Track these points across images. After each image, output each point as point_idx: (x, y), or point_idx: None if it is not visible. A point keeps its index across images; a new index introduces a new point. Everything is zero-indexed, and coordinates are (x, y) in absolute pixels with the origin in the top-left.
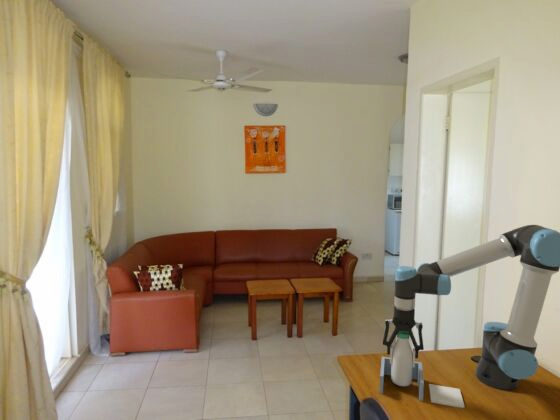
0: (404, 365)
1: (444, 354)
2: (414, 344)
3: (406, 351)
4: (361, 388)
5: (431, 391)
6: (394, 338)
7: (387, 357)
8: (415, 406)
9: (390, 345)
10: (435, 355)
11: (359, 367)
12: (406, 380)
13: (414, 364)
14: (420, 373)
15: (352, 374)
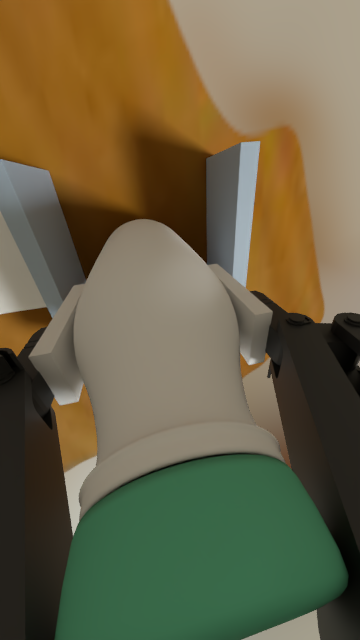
0: (126, 240)
1: (68, 454)
2: (2, 428)
3: (110, 304)
4: (287, 168)
5: (20, 257)
6: (314, 409)
7: None
8: (47, 99)
9: (286, 327)
10: (87, 442)
11: (279, 306)
12: (116, 230)
13: (69, 293)
14: (47, 280)
15: (306, 256)
